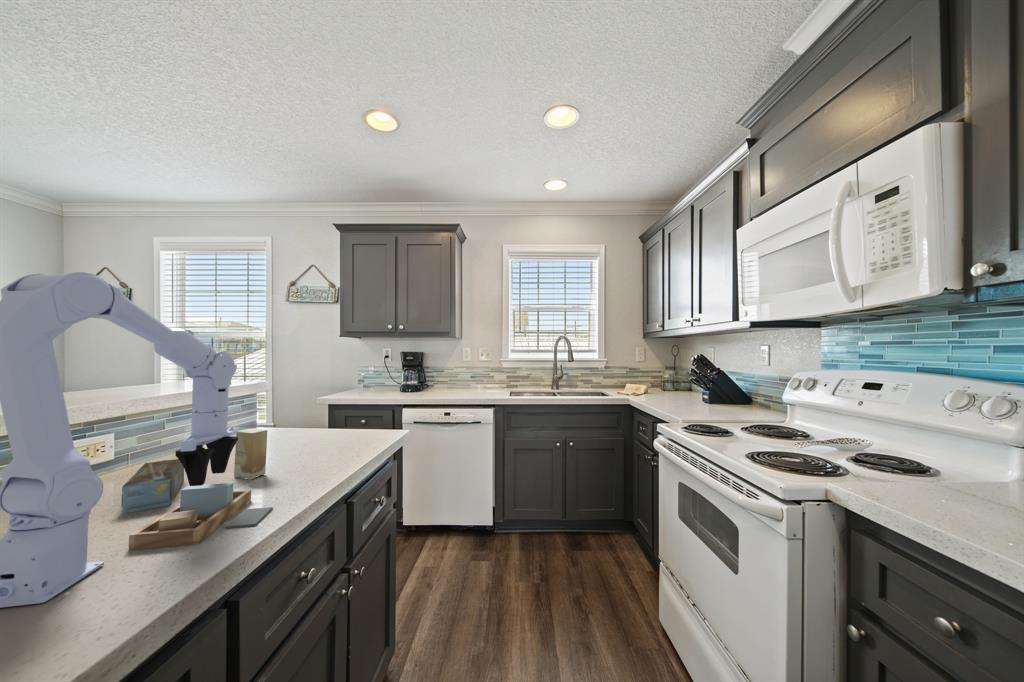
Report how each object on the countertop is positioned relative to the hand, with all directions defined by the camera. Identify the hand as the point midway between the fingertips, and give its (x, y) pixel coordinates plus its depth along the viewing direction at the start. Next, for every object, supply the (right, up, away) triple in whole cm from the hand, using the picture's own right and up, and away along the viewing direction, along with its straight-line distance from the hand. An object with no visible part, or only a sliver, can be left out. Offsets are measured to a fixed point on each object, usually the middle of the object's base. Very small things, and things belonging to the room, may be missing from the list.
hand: (208, 478), depth 76 cm
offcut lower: (+2, -7, -9) cm, 12 cm away
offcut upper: (+2, -5, -9) cm, 11 cm away
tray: (+1, -7, -3) cm, 8 cm away
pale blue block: (0, -7, 0) cm, 8 cm away
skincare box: (-8, -9, +24) cm, 27 cm away
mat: (+9, -7, -1) cm, 12 cm away
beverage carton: (-21, -8, +11) cm, 25 cm away
